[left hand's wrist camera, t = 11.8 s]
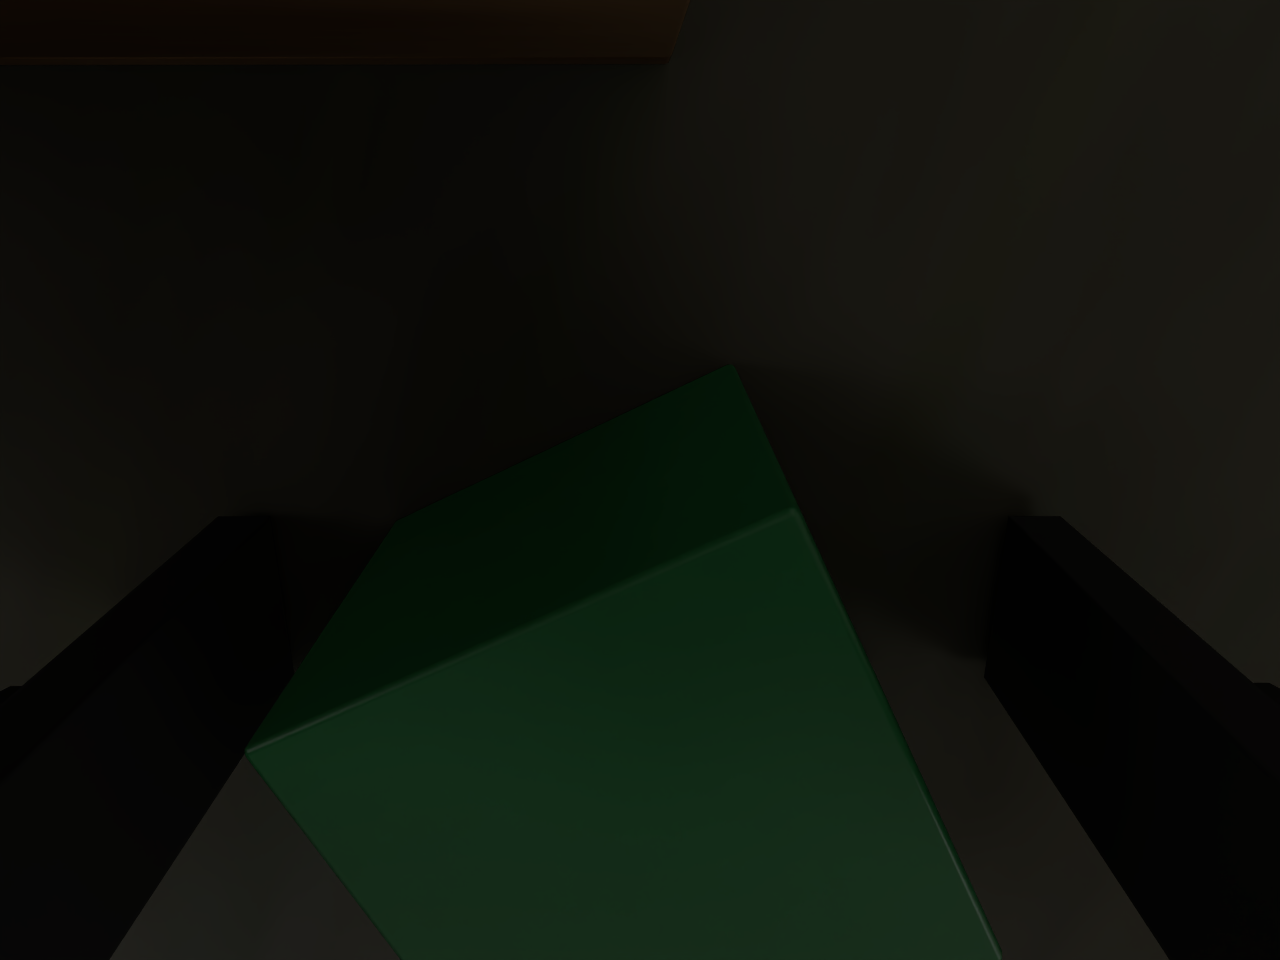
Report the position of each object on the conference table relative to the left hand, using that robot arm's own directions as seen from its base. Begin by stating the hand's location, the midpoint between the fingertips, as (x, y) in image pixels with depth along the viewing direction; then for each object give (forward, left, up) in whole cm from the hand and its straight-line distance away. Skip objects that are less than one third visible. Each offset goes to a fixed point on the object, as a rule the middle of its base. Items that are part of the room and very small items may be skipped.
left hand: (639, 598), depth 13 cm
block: (0, 0, 0) cm, 0 cm away
